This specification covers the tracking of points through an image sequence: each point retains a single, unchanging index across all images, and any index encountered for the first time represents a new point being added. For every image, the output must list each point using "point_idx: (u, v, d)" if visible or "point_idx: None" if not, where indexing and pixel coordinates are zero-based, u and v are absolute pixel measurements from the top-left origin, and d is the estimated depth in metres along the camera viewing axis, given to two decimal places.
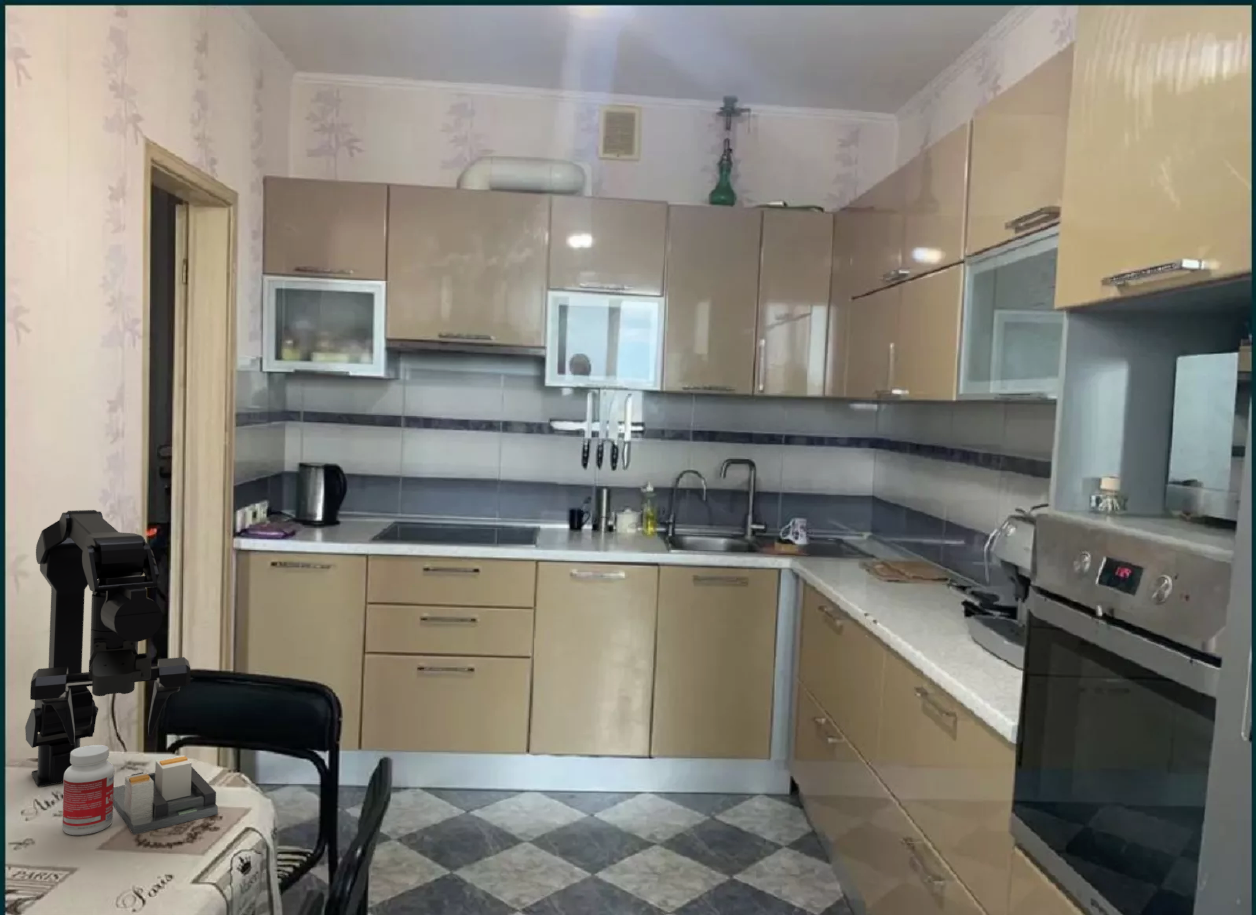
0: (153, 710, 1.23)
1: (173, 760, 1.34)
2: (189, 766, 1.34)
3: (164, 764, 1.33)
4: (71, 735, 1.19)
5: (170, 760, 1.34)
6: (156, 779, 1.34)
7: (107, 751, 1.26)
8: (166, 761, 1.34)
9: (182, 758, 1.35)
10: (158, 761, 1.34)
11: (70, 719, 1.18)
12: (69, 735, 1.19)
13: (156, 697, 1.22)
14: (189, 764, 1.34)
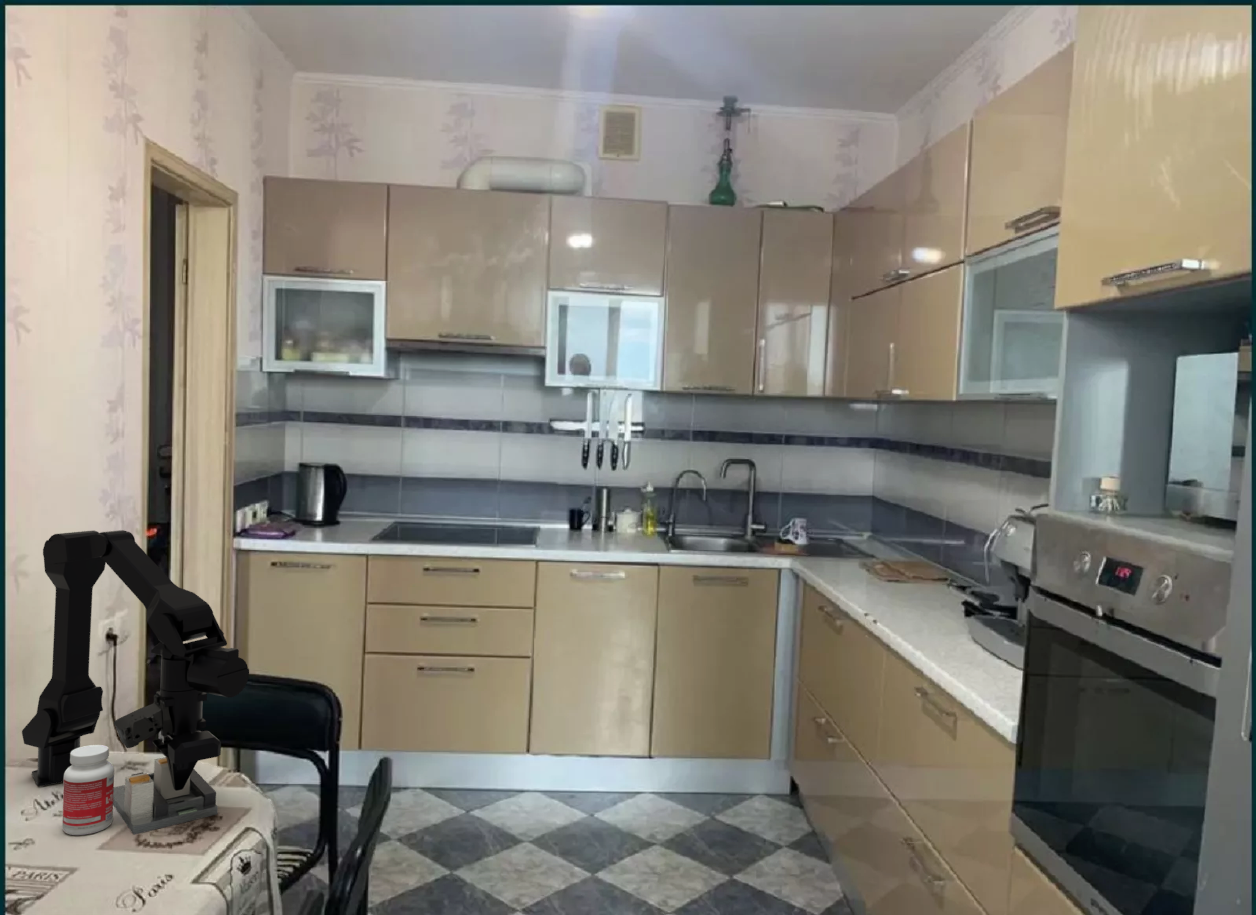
0: (171, 767, 1.31)
1: None
2: None
3: (163, 763, 1.33)
4: (172, 780, 1.32)
5: None
6: (155, 778, 1.35)
7: (107, 751, 1.26)
8: (165, 760, 1.34)
9: None
10: (157, 760, 1.35)
11: (169, 765, 1.31)
12: None
13: None
14: None
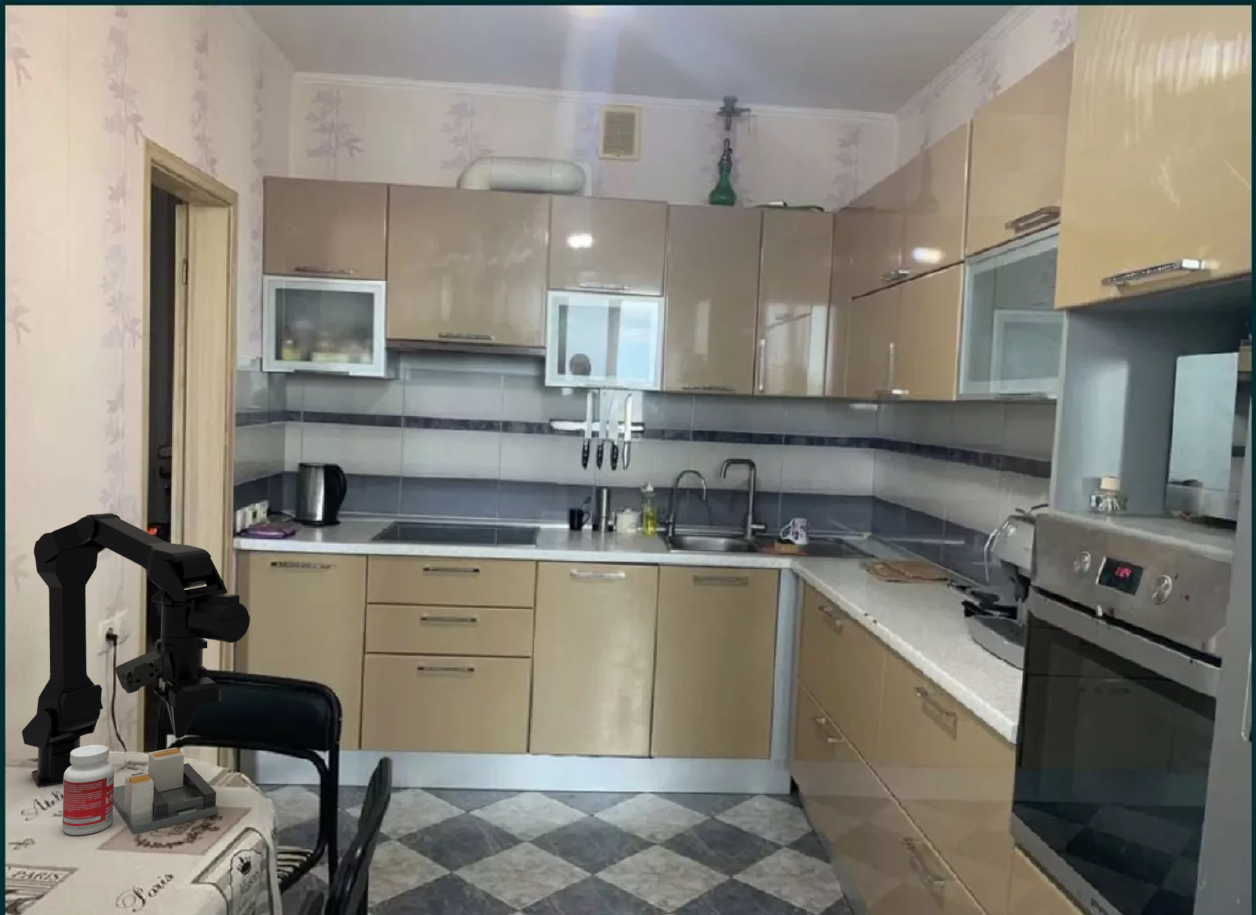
0: (172, 714, 1.31)
1: (166, 752, 1.37)
2: (181, 758, 1.37)
3: (157, 756, 1.36)
4: (173, 728, 1.32)
5: (163, 752, 1.37)
6: (149, 771, 1.37)
7: (107, 751, 1.26)
8: (159, 753, 1.37)
9: (174, 750, 1.38)
10: (151, 753, 1.37)
11: (170, 713, 1.32)
12: (172, 727, 1.32)
13: None
14: (181, 756, 1.37)
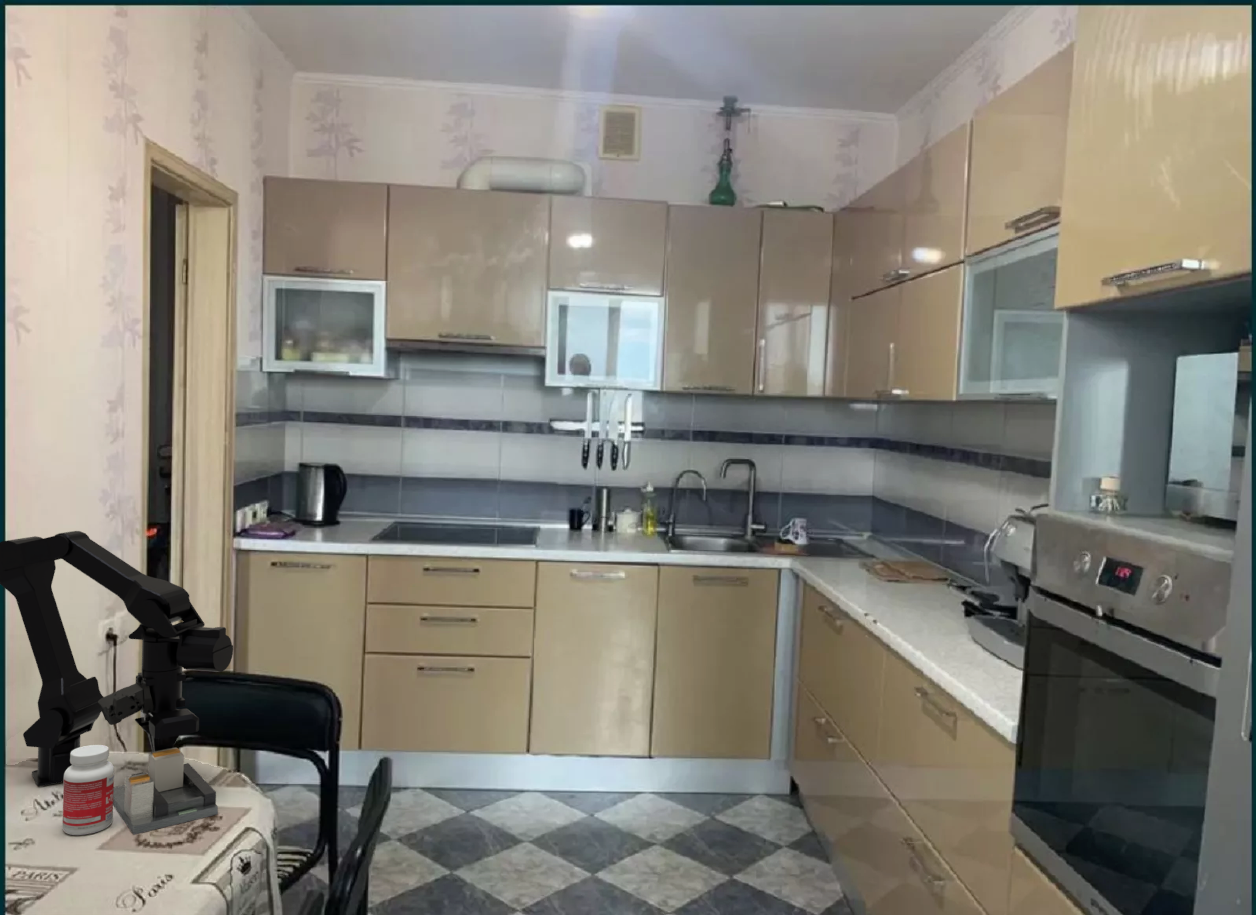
0: (152, 743, 1.39)
1: (166, 752, 1.37)
2: (181, 758, 1.37)
3: (157, 756, 1.36)
4: None
5: (163, 752, 1.37)
6: (149, 771, 1.37)
7: (107, 751, 1.26)
8: (159, 753, 1.37)
9: (174, 750, 1.38)
10: (151, 753, 1.37)
11: (151, 741, 1.40)
12: None
13: None
14: (181, 756, 1.37)
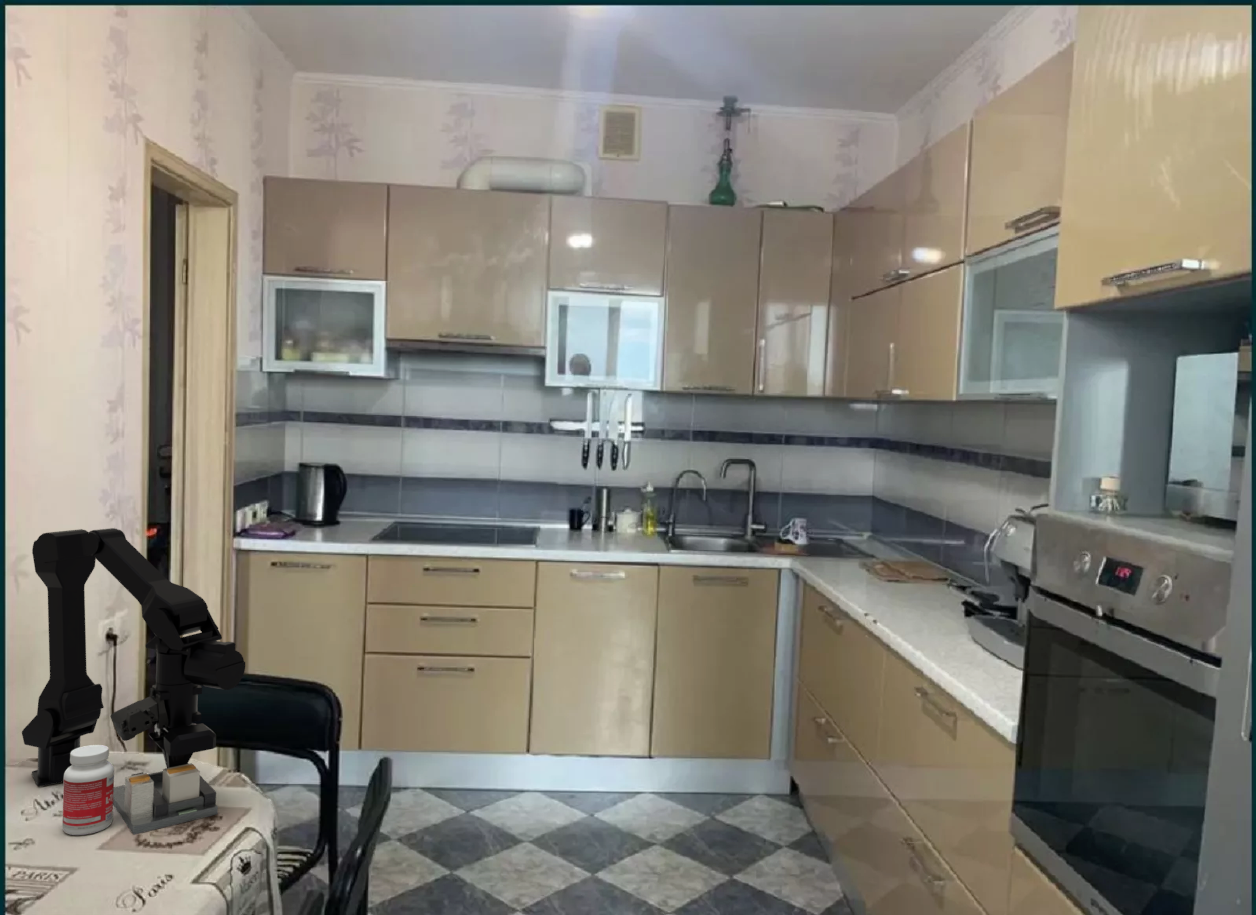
0: (167, 759, 1.33)
1: (181, 768, 1.31)
2: (197, 775, 1.31)
3: (172, 773, 1.30)
4: None
5: (178, 768, 1.31)
6: (163, 788, 1.31)
7: (107, 751, 1.26)
8: (174, 769, 1.31)
9: (190, 766, 1.32)
10: (165, 769, 1.31)
11: (165, 757, 1.34)
12: None
13: None
14: (197, 773, 1.31)
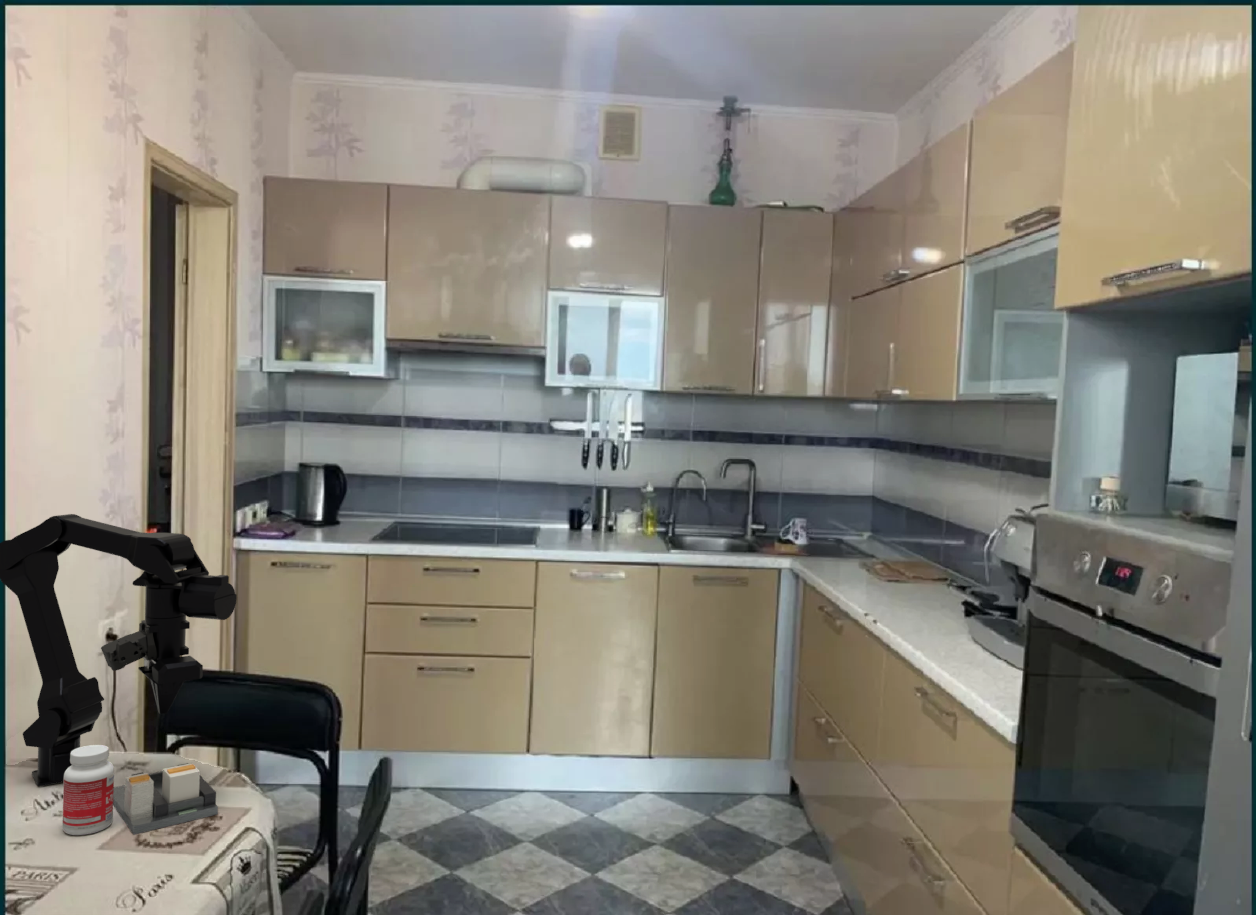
0: (156, 691, 1.38)
1: (181, 768, 1.31)
2: (197, 774, 1.31)
3: (172, 773, 1.30)
4: (157, 704, 1.39)
5: (178, 768, 1.31)
6: (163, 788, 1.31)
7: (107, 751, 1.26)
8: (174, 769, 1.31)
9: (190, 766, 1.32)
10: (165, 769, 1.31)
11: (154, 690, 1.39)
12: None
13: None
14: (197, 772, 1.31)
